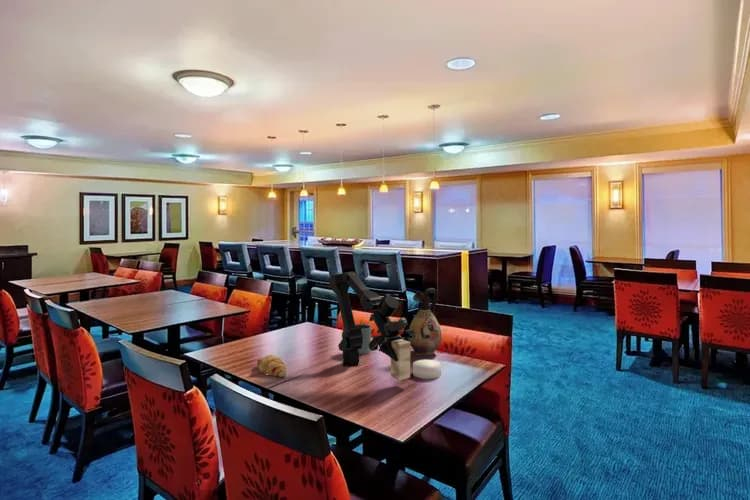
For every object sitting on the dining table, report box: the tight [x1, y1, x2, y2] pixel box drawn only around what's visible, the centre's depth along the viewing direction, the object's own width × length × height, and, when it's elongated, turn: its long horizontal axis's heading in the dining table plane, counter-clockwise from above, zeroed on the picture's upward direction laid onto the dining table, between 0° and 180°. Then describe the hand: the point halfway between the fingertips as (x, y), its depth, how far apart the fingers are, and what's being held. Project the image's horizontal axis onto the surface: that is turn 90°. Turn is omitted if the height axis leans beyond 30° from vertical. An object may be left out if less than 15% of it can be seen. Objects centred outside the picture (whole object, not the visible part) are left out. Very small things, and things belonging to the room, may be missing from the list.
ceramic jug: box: [408, 287, 443, 356], centre depth 197 cm, size 17×15×30 cm
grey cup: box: [355, 323, 372, 355], centre depth 200 cm, size 10×10×12 cm
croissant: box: [256, 354, 288, 378], centre depth 175 cm, size 21×10×8 cm, turn 44°
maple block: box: [390, 339, 411, 381], centre depth 157 cm, size 5×5×13 cm
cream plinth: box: [412, 359, 442, 380], centre depth 170 cm, size 11×11×4 cm
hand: (403, 359), depth 156 cm, fingers closed on maple block, 5 cm apart
